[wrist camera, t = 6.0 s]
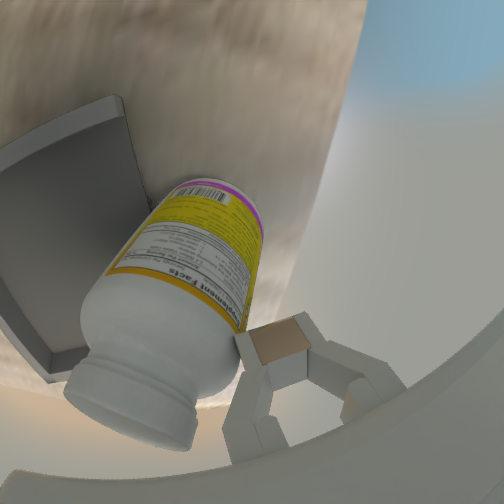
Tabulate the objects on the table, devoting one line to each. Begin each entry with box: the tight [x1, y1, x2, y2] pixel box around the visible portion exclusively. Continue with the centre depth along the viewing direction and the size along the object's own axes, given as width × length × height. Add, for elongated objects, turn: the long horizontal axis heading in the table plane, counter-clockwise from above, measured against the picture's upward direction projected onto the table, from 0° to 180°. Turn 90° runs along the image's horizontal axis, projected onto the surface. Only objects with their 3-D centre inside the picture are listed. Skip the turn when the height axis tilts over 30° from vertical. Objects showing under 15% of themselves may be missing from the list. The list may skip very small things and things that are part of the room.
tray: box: [0, 94, 151, 384], centre depth 15 cm, size 15×18×3 cm
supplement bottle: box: [63, 178, 264, 452], centre depth 12 cm, size 7×7×13 cm
